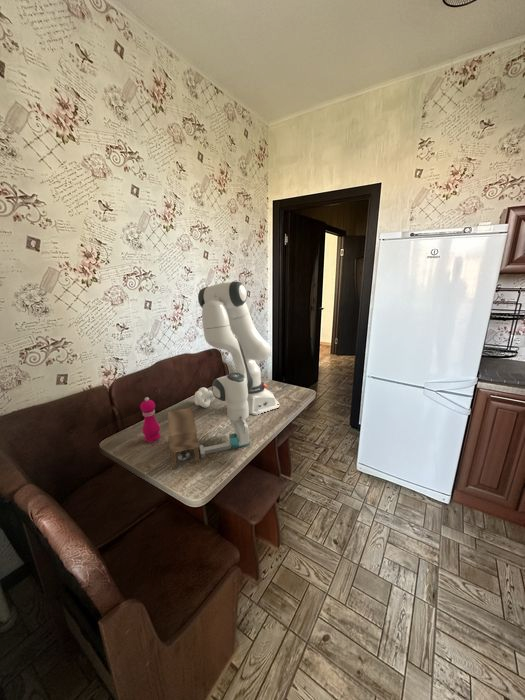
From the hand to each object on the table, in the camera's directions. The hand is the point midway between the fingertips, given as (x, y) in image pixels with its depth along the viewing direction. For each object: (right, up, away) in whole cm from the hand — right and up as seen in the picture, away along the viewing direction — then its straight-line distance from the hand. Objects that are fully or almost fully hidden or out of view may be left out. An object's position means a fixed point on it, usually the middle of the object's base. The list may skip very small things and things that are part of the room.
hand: (239, 441), depth 118 cm
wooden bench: (-23, -3, -3) cm, 23 cm away
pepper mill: (-40, -1, +7) cm, 40 cm away
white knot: (-23, +8, +39) cm, 46 cm away
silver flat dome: (-22, -4, -7) cm, 23 cm away
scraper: (-6, -2, -1) cm, 6 cm away
